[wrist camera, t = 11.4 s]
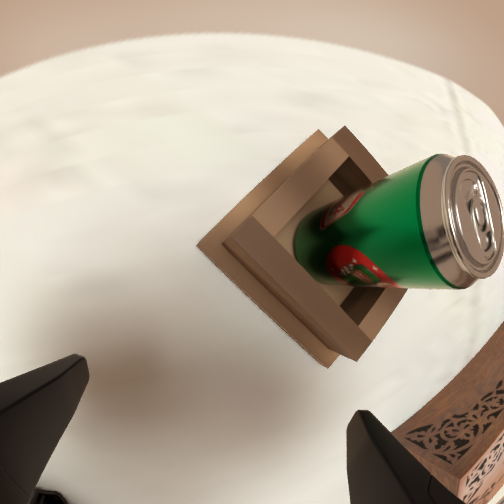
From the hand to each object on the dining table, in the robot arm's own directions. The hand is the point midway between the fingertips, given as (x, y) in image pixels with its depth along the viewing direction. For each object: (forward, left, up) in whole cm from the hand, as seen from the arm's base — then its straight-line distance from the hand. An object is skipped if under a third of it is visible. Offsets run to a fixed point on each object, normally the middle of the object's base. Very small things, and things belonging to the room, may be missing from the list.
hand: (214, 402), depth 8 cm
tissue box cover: (-20, -27, -11) cm, 35 cm away
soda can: (+4, -10, -9) cm, 14 cm away
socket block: (+4, -10, -10) cm, 14 cm away
